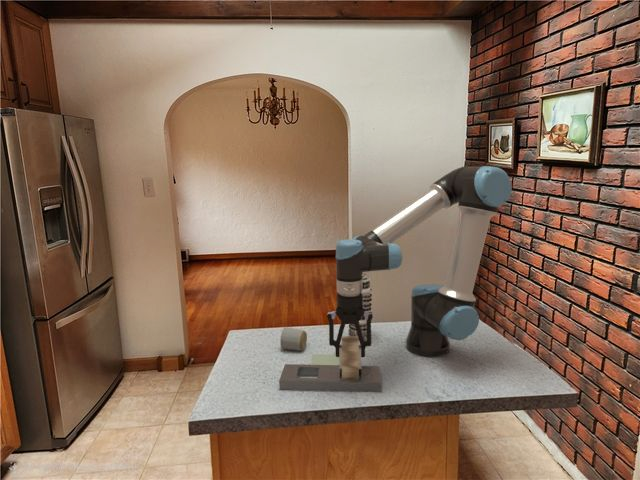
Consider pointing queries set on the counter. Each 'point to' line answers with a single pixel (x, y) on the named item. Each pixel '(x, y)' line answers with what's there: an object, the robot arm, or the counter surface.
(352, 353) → the peg
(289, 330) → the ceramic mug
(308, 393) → the counter surface
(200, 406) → the counter surface
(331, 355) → the mat
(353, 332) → the decorative candle
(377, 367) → the grey flat slotted plate
